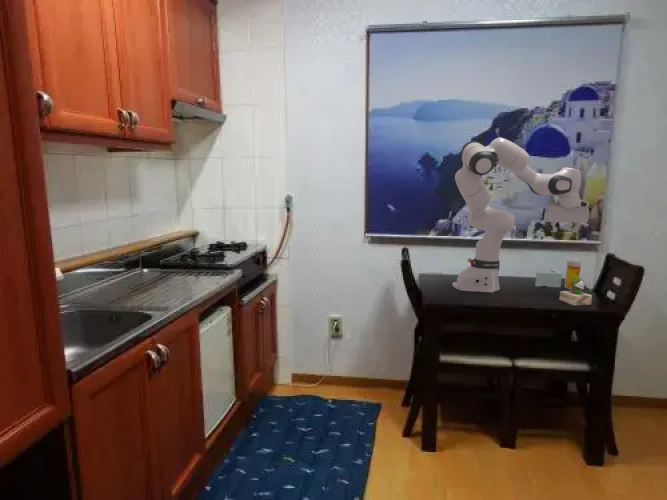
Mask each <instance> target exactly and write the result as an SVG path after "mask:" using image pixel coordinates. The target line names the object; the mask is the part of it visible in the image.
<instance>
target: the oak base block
mask: <svg viewBox="0 0 667 500" xmlns="http://www.w3.org/2000/svg"><path fill="white" fill-rule="evenodd" d="M559 301H561V302H564V303H565V304H566V303H567V304H569V305H572V306H586V305H592V301H593V295H592V294H589V293H586V292H583V293H575V294H574V291H573V290H563V291H562V290H561V291H560V293H559Z"/></svg>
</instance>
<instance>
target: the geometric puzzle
mask: <svg viewBox="0 0 667 500" xmlns="http://www.w3.org/2000/svg"><path fill="white" fill-rule="evenodd" d="M572 280H573V282H571V284H572V290H571V291H574V294H575V293H584V291H585V289H586V287H587V286H588V284H584V283H585V282H584V280H583V279H582V278H581V277H579V278H572ZM568 286H569V285H568ZM568 286H567V287H568Z"/></svg>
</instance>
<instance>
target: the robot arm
mask: <svg viewBox="0 0 667 500" xmlns="http://www.w3.org/2000/svg"><path fill="white" fill-rule="evenodd" d="M529 162H530V154H529V153H528V152H527V151H526V150H525V149H524V148H523V147H521V146H519V145H518V144H516V143H514V142H513V141H510V140H509V139H507V138H505V137H504V138H503V137H496V138H495V139H492V141H491V142H490V143H489V144H488V145H486V146H484V145H483V144H482V143H481V142H479V141H476V140H471V141H468V142H466V143H465V144H464V145H463V146H462V148H461V151H460V164H461V166H462V167H461V168H460V169H459V170H457V171H456V173H455V174H454V181H455V183H456V186H457V189H458V191H459V192H460V195H461V196H462V198H463V200H464V201H465V203H466V205H467V207H468V213H467V216H466V221H467V223H468V225H469V227H470V226H471V227H472V228H474V229H476V230H480V231H484V235H482V238H481V239H479V240H478V241H477V242H476V244H475V256H474V258H473V259H472V258H468V259H467V263H469V264H470V265H469V266H468V267H467V268H465V269H463V270H461V272H459V274H458V276H457V279H456V281H453V282H452V287H453V288H454V289H456V290H458V291H463V292H480V293H495V292H497V291H499V290H501V287H500V283H499V272H500V267H501V266H500V262H501V261H500V253H501V246H502V243H503V239H504V238H505V237H506V235H507V234H508V233H509V232H511V231H512V230H513V229H514V226H515V223H516V220H515V219H516V218H515V215H514V214H513V213H512V212H510V211H507V210H505V209H500V208H492V207H491V206H490V205H489V203H490V200H491V194H490V191H489V190H488V188H487V186H486V185H485V182H484V181H483V180H482V176H485V175H487V174H489V173H490V172H491V171H493V170H494V168H495V167H497V166H498V165H499V166H501V167H502V168H503V169H505V170H506V171H508V172H510V173H512V174H513V175H515V176H516V177H517V178H518V179H520V180H522V181H523V182H524V183H525V184H526V185H527V187H528V188H529V189H530V191H531V192H532V193H534V194H535V195H538V196H539V195H545V196H557V202H553V201H550V202H548V203H547V204H545V211H544V216H543V220H544V222H547V223H550V225H551V227H552V232H554V233H555V232H558V230H559V228H558V227H557V226H556V225H557V223H574V227H571V232H572V233H577V232H578V228H579V227H580V226H581V224H582V223H584V224H586V223H588V221H589V219H590V209H589V206H590V203H589V202H588V201H584V200H583V199H580V194H579V191H580V189H581V181H582V173H581V171H580V169H578V168H577V167H571V166H565V167H562V168H561V169H560V170H558V171H556V172H554V173H540V172H539V173H538V172H536V171H534V170H533V169H532V168H530V167H529V166H528V165H529Z"/></svg>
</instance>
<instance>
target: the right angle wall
mask: <svg viewBox="0 0 667 500" xmlns="http://www.w3.org/2000/svg"><path fill="white" fill-rule="evenodd" d="M535 274H536V275H535V285H534V286H535V287H541V286H547V287H546V288H561V286H562V285H561V284H562V279H563V273H561V272H560V271H558V270H556V269H555V268H551V269H550V272H543V271H540V272H539V271H538V272H536V273H535Z"/></svg>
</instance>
